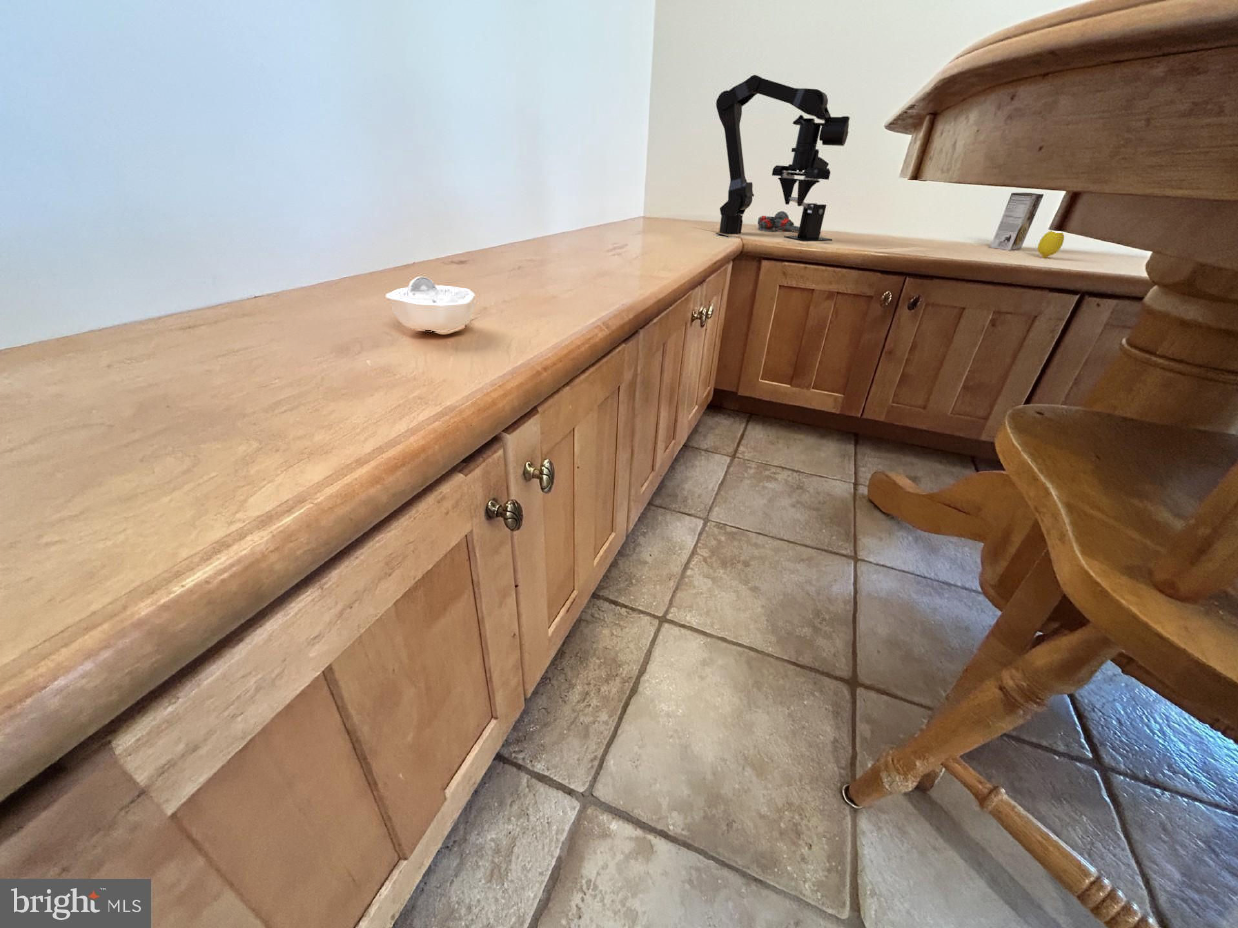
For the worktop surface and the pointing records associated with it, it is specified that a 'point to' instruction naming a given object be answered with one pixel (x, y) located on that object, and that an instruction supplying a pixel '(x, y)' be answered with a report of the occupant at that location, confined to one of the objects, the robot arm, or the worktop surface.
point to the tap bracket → (811, 224)
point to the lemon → (1050, 243)
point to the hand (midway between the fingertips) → (793, 205)
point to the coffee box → (1016, 220)
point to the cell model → (432, 305)
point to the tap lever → (809, 207)
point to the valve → (776, 223)
